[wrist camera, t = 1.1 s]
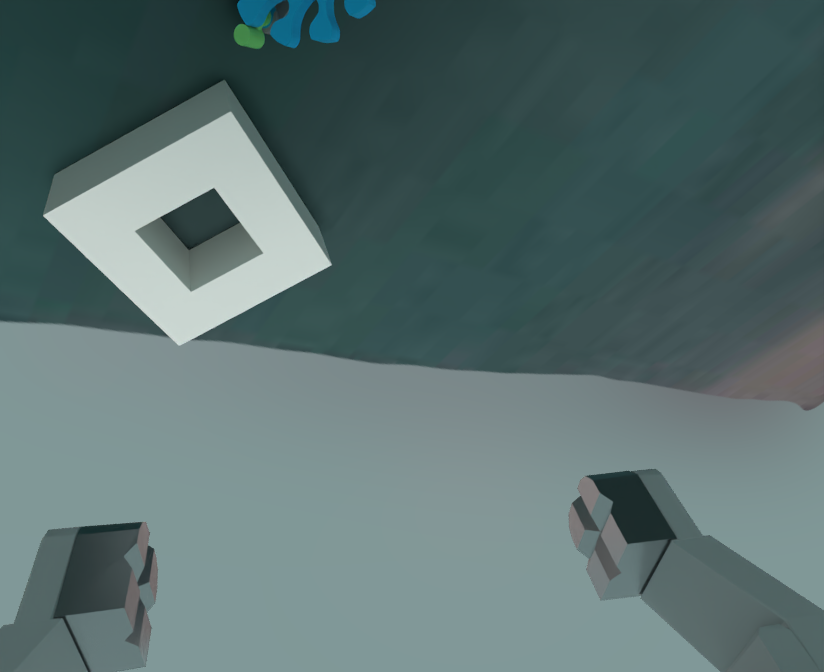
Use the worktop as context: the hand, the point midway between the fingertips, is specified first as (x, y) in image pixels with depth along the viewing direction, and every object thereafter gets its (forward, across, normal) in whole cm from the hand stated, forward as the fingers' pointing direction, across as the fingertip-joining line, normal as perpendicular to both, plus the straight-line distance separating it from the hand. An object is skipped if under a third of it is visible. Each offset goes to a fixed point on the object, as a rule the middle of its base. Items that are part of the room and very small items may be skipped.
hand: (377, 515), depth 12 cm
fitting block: (+33, +7, +9) cm, 35 cm away
